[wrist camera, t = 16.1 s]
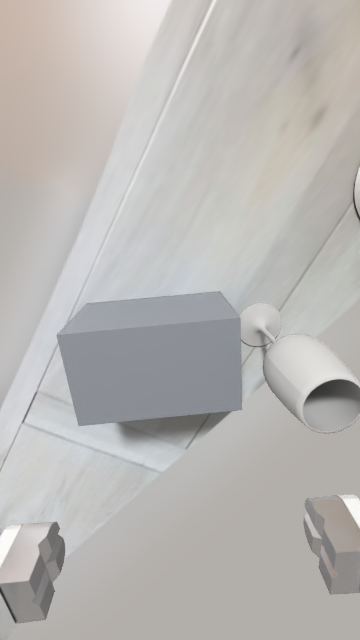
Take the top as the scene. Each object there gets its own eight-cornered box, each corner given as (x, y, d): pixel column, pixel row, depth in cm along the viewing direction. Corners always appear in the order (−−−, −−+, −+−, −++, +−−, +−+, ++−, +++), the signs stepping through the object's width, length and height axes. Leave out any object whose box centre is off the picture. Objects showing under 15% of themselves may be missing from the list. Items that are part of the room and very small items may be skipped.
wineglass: (268, 353, 46) (345, 450, 27) (227, 337, 45) (275, 427, 25) (291, 312, 44) (393, 384, 24) (248, 294, 43) (318, 355, 23)
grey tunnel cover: (219, 291, 43) (240, 317, 31) (222, 362, 47) (241, 409, 35) (87, 303, 42) (56, 334, 30) (101, 374, 46) (78, 426, 34)
